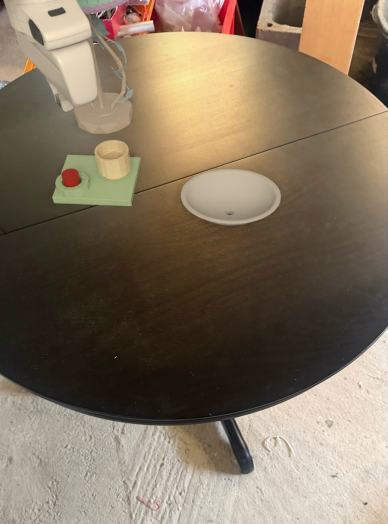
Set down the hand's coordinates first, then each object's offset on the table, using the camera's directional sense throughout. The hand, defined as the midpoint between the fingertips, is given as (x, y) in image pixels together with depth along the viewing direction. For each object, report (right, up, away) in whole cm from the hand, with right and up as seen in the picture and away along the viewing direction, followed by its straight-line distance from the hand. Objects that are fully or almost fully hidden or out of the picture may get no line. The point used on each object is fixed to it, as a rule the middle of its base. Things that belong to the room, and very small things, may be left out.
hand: (65, 106), depth 74 cm
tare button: (-3, -7, +15) cm, 17 cm away
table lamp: (0, +13, +31) cm, 34 cm away
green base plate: (+1, -5, +19) cm, 20 cm away
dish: (+27, -14, +13) cm, 33 cm away
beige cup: (+5, -3, +19) cm, 20 cm away
